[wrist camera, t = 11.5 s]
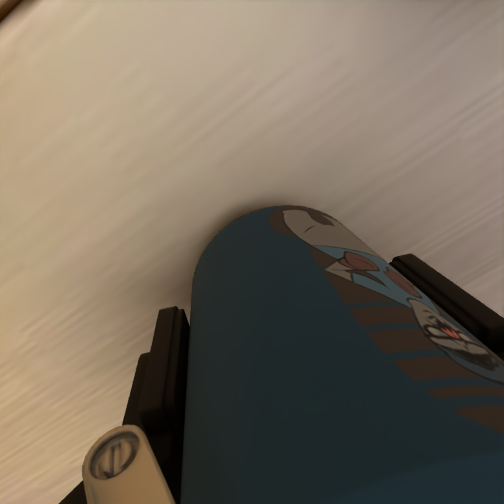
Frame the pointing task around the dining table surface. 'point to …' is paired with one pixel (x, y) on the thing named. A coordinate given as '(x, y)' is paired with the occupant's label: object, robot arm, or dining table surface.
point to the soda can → (331, 377)
